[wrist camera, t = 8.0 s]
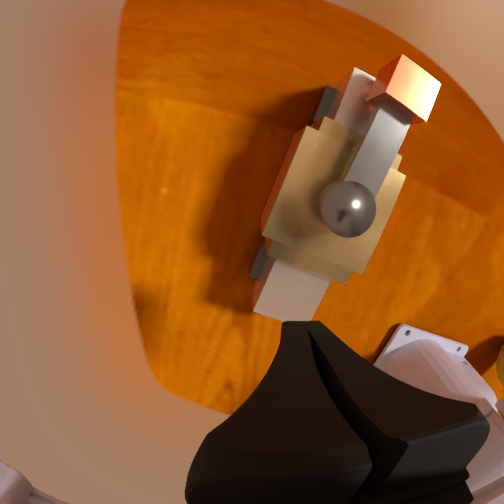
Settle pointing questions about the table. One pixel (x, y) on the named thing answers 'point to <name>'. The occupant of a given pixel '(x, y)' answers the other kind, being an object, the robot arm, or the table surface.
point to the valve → (316, 208)
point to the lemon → (500, 365)
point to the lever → (377, 145)
